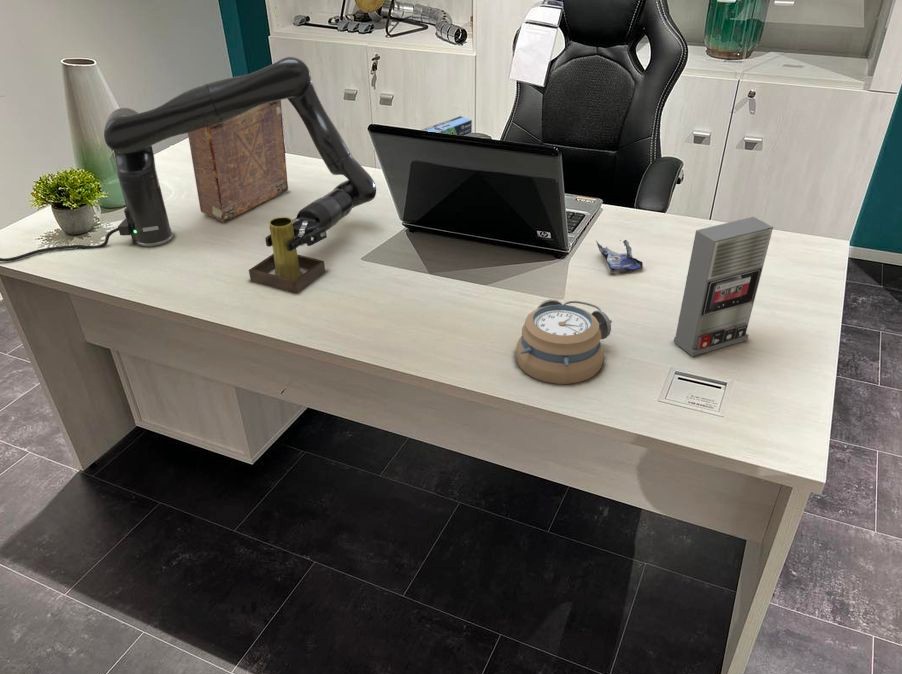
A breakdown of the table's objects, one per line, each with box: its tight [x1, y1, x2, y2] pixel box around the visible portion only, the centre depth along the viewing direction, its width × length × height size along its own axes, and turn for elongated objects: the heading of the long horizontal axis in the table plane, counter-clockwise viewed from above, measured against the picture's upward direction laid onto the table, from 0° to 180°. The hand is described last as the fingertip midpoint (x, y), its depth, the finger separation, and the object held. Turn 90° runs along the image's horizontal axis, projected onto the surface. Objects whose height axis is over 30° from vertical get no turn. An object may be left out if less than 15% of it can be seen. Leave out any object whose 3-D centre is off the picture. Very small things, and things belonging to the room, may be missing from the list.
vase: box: [268, 216, 302, 280], centre depth 178 cm, size 6×6×14 cm
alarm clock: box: [515, 299, 613, 385], centre depth 152 cm, size 17×9×23 cm
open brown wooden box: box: [248, 253, 327, 294], centre depth 182 cm, size 14×12×3 cm
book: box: [187, 100, 289, 224], centre depth 208 cm, size 25×9×30 cm, turn 145°
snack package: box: [595, 239, 644, 275], centre depth 183 cm, size 12×6×12 cm
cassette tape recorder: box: [673, 216, 774, 357], centre depth 148 cm, size 14×6×25 cm, turn 114°
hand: (277, 245), depth 176 cm, fingers closed on vase, 5 cm apart
